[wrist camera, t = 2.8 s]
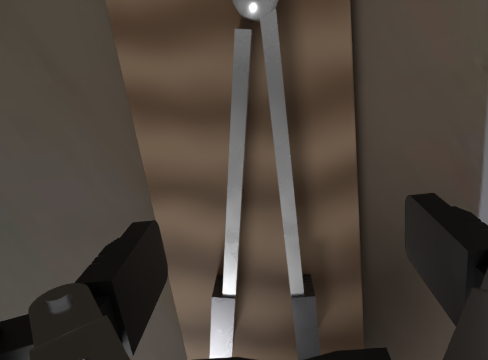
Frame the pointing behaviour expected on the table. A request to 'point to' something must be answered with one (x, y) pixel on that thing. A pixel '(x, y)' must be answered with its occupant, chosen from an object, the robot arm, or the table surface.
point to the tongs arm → (232, 202)
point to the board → (248, 164)
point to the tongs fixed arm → (285, 177)
